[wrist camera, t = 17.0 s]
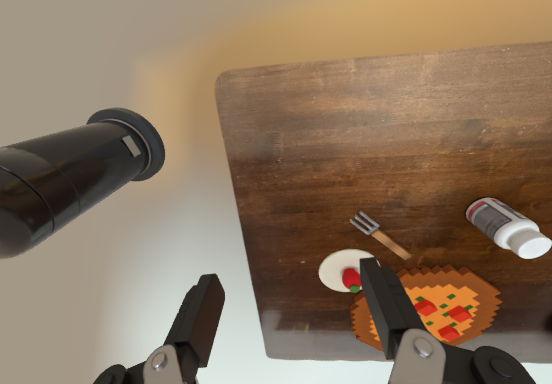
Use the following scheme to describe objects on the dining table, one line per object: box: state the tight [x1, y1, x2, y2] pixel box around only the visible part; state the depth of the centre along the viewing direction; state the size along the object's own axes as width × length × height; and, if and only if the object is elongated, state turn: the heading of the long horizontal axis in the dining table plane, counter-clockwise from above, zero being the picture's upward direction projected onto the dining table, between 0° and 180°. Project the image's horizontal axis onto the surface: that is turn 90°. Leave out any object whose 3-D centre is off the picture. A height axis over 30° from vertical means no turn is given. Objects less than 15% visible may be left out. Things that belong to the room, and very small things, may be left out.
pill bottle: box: [466, 198, 552, 259], centre depth 35 cm, size 5×5×10 cm
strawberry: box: [342, 268, 361, 293], centre depth 46 cm, size 4×4×4 cm
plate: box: [319, 249, 380, 292], centre depth 48 cm, size 13×13×1 cm
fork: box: [349, 211, 412, 260], centre depth 42 cm, size 15×3×1 cm, turn 52°
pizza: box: [349, 264, 502, 352], centre depth 52 cm, size 32×32×3 cm
